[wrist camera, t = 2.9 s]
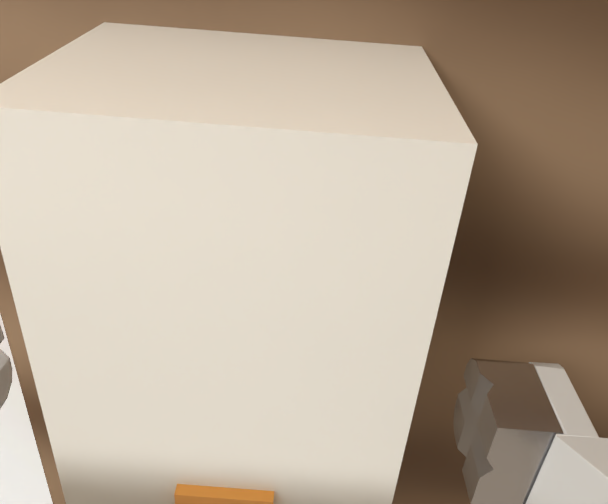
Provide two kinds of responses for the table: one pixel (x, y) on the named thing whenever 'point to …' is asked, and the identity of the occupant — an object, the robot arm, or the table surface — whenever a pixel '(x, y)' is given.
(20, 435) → the table surface
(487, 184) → the subfloor panel
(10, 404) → the table surface
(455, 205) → the block
